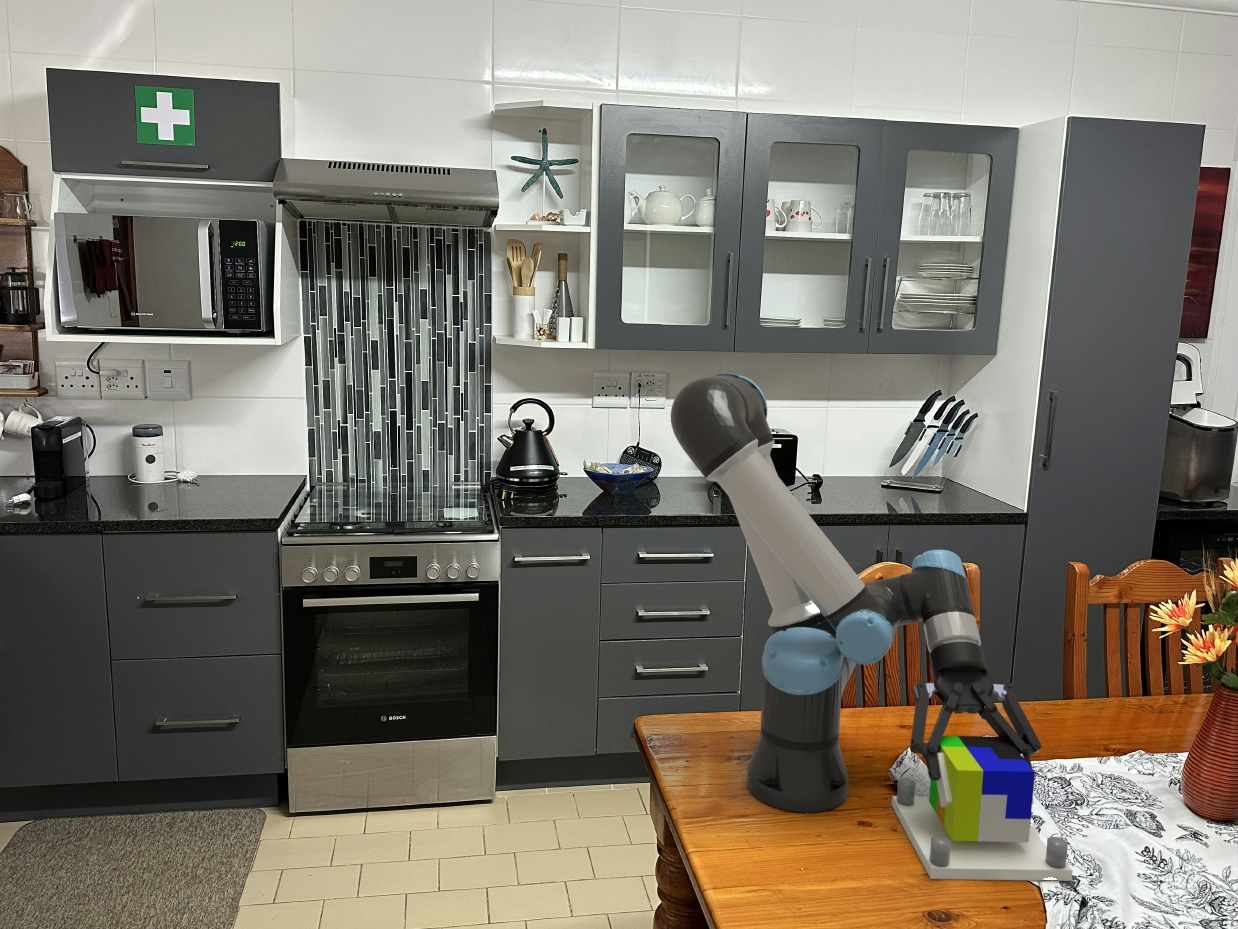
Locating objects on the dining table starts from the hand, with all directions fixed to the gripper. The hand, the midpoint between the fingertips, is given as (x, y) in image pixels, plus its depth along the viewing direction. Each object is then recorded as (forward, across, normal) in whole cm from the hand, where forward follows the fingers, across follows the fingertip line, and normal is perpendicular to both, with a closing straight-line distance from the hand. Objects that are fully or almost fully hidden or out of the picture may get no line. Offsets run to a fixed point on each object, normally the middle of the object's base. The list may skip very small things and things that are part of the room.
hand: (987, 805), depth 126 cm
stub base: (+3, 0, -7) cm, 8 cm away
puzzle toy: (+1, 0, -5) cm, 5 cm away
